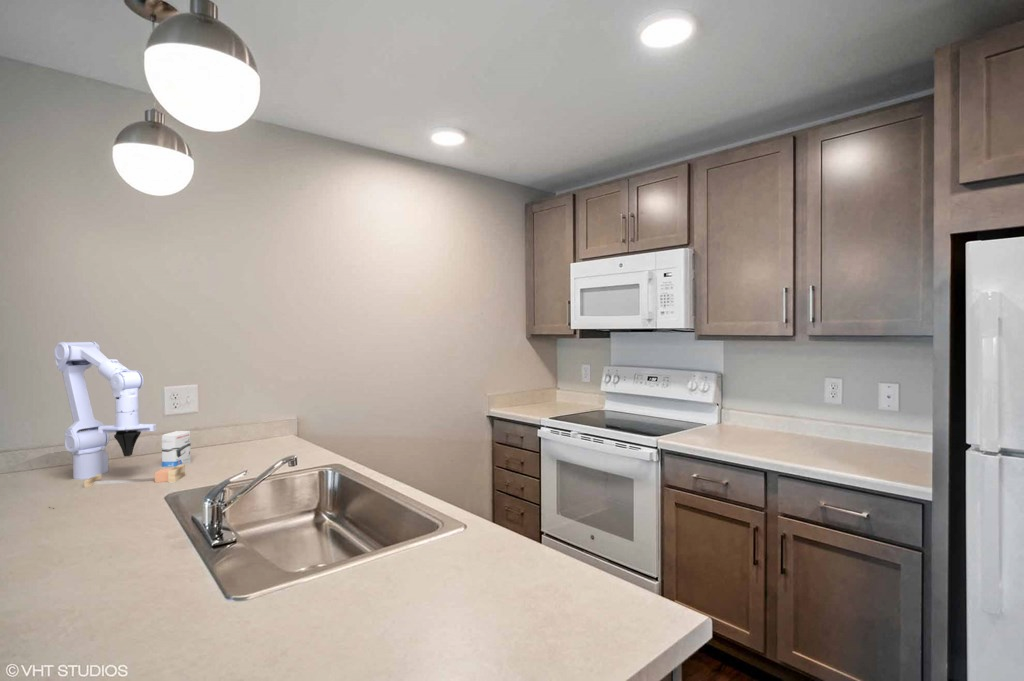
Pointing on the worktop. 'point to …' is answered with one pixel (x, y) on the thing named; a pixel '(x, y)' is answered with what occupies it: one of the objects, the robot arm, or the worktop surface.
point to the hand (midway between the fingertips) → (128, 455)
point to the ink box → (176, 448)
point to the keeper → (162, 475)
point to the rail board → (172, 477)
